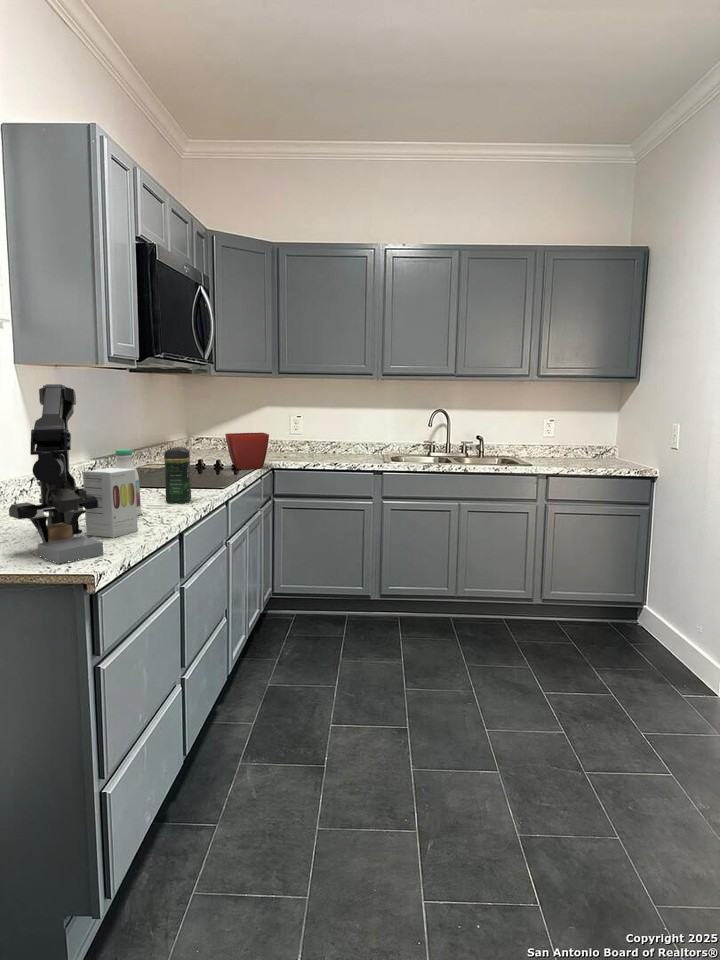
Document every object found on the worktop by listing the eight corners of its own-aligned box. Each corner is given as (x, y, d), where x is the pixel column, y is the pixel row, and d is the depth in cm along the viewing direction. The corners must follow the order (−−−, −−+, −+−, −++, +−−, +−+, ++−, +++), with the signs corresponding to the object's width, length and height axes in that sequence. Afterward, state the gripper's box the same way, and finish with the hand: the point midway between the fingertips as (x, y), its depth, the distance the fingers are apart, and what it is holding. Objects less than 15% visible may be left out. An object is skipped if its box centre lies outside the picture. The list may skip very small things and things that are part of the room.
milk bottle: (110, 515, 189) (106, 449, 186) (135, 512, 194) (132, 447, 191) (119, 519, 183) (115, 451, 180) (145, 515, 188) (141, 449, 185)
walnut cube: (63, 542, 154) (62, 522, 153) (73, 545, 150) (71, 525, 150) (42, 546, 150) (41, 525, 149) (52, 549, 147) (50, 528, 146)
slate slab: (82, 548, 149) (81, 535, 148) (103, 555, 142) (102, 542, 142) (38, 556, 141) (37, 543, 141) (59, 564, 135) (58, 550, 134)
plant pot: (226, 466, 314) (225, 433, 311) (264, 465, 319) (263, 432, 317) (230, 471, 296) (228, 435, 293) (270, 469, 301) (269, 434, 299)
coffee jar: (187, 504, 208) (185, 448, 205) (163, 504, 207) (160, 448, 205) (194, 499, 217) (191, 445, 215) (171, 499, 217) (168, 446, 214)
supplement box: (113, 538, 159) (109, 472, 156) (85, 535, 162) (80, 471, 160) (139, 530, 167) (135, 468, 165) (112, 528, 171) (108, 466, 169)
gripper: (26, 485, 136) (31, 555, 138) (107, 476, 150) (111, 539, 152) (5, 480, 143) (11, 547, 145) (85, 472, 157) (89, 533, 159)
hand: (57, 541), depth 150 cm, fingers closed on walnut cube, 5 cm apart
